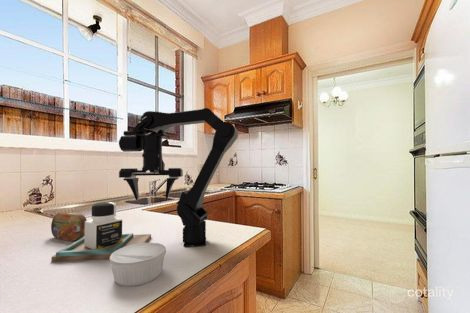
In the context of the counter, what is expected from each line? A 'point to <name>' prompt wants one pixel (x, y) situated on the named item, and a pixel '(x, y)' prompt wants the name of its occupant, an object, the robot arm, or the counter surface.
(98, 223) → the medicine bottle
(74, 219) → the tin
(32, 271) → the counter surface
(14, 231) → the counter surface
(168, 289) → the counter surface
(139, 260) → the ramekin
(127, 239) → the socket board
